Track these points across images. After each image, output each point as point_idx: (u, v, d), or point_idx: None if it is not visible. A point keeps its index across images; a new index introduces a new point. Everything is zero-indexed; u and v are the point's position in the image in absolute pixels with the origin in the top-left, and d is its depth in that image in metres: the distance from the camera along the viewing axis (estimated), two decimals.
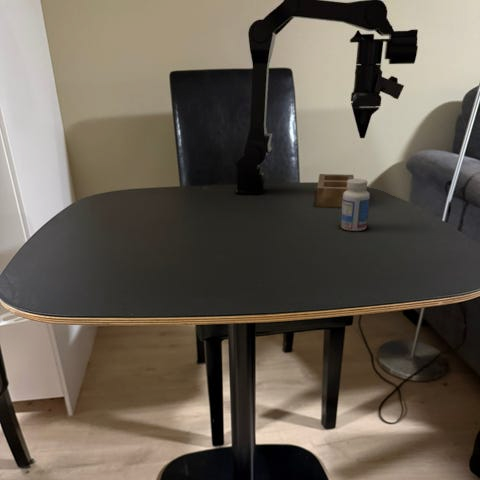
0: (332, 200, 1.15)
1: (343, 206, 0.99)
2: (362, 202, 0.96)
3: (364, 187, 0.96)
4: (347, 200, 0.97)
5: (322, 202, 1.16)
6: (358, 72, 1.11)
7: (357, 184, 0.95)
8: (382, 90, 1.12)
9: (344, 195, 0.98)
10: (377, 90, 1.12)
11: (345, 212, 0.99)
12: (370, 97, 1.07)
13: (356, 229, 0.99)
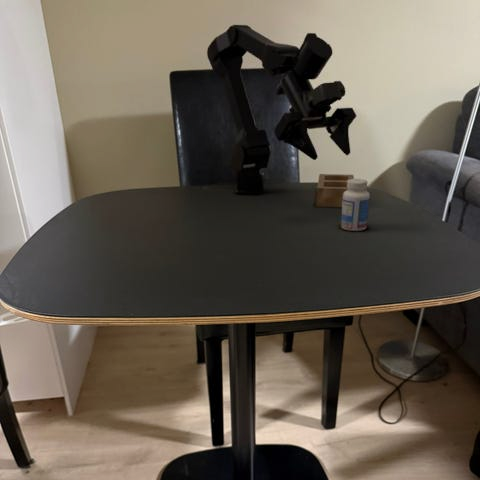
0: (332, 200, 1.15)
1: (343, 206, 0.99)
2: (362, 202, 0.96)
3: (364, 187, 0.96)
4: (347, 200, 0.97)
5: (322, 202, 1.16)
6: (291, 109, 1.04)
7: (357, 184, 0.95)
8: (312, 104, 0.99)
9: (344, 195, 0.98)
10: (307, 108, 0.99)
11: (345, 212, 0.99)
12: (280, 121, 0.98)
13: (356, 229, 0.99)
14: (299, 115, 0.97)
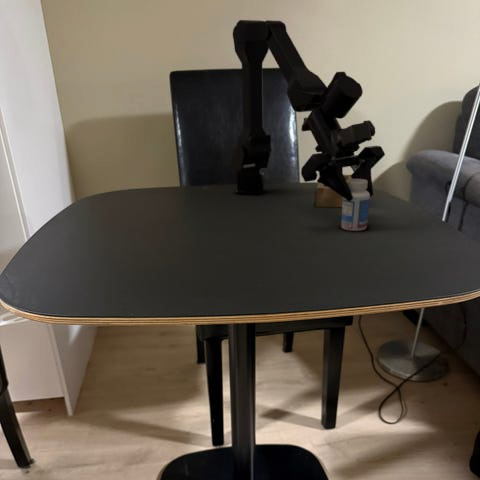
0: (332, 200, 1.15)
1: (343, 206, 0.99)
2: (362, 202, 0.96)
3: (364, 187, 0.96)
4: (347, 200, 0.97)
5: (322, 202, 1.16)
6: (317, 148, 1.01)
7: (357, 184, 0.95)
8: (341, 145, 0.95)
9: None
10: (335, 149, 0.96)
11: (345, 212, 0.99)
12: (308, 163, 0.94)
13: (356, 229, 0.99)
14: (328, 157, 0.93)
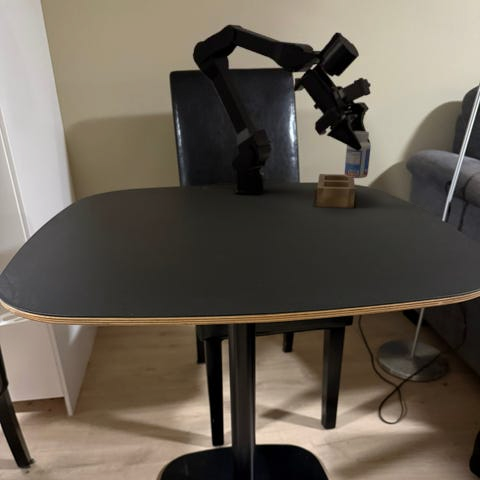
0: (332, 200, 1.15)
1: (349, 156, 1.10)
2: (368, 150, 1.09)
3: (368, 137, 1.08)
4: (355, 150, 1.08)
5: (322, 202, 1.16)
6: (316, 105, 1.09)
7: (363, 134, 1.07)
8: (346, 100, 1.05)
9: None
10: (340, 104, 1.06)
11: (352, 161, 1.10)
12: (325, 116, 1.02)
13: (362, 176, 1.11)
14: (342, 110, 1.03)
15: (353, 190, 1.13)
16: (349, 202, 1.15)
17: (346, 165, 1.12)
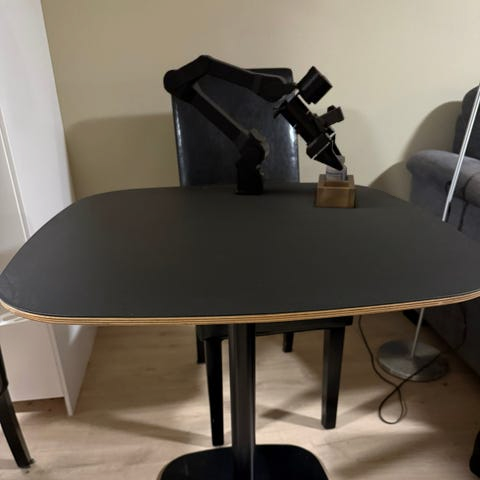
0: (332, 200, 1.15)
1: (331, 178, 1.22)
2: (346, 172, 1.22)
3: (344, 160, 1.22)
4: (336, 172, 1.21)
5: (322, 202, 1.16)
6: (297, 131, 1.19)
7: (342, 159, 1.20)
8: (326, 125, 1.17)
9: (332, 169, 1.21)
10: (322, 129, 1.17)
11: None
12: (317, 142, 1.12)
13: None
14: (328, 135, 1.14)
15: (353, 190, 1.13)
16: (349, 202, 1.15)
17: None
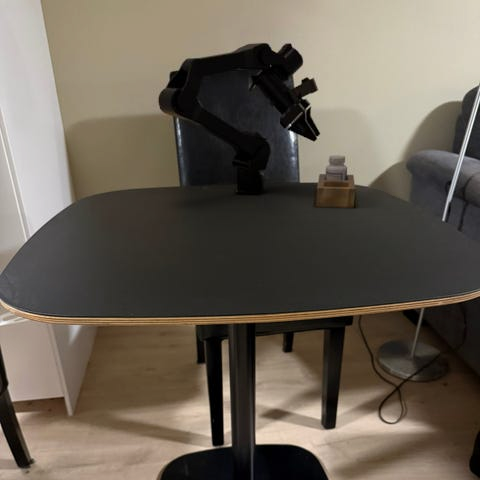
0: (332, 200, 1.15)
1: (331, 178, 1.22)
2: (346, 172, 1.22)
3: (344, 160, 1.22)
4: (336, 172, 1.21)
5: (322, 202, 1.16)
6: (272, 102, 1.21)
7: (342, 159, 1.20)
8: (300, 96, 1.20)
9: (332, 169, 1.21)
10: (296, 100, 1.20)
11: None
12: (290, 111, 1.15)
13: None
14: (301, 106, 1.17)
15: (353, 190, 1.13)
16: (349, 202, 1.15)
17: None
